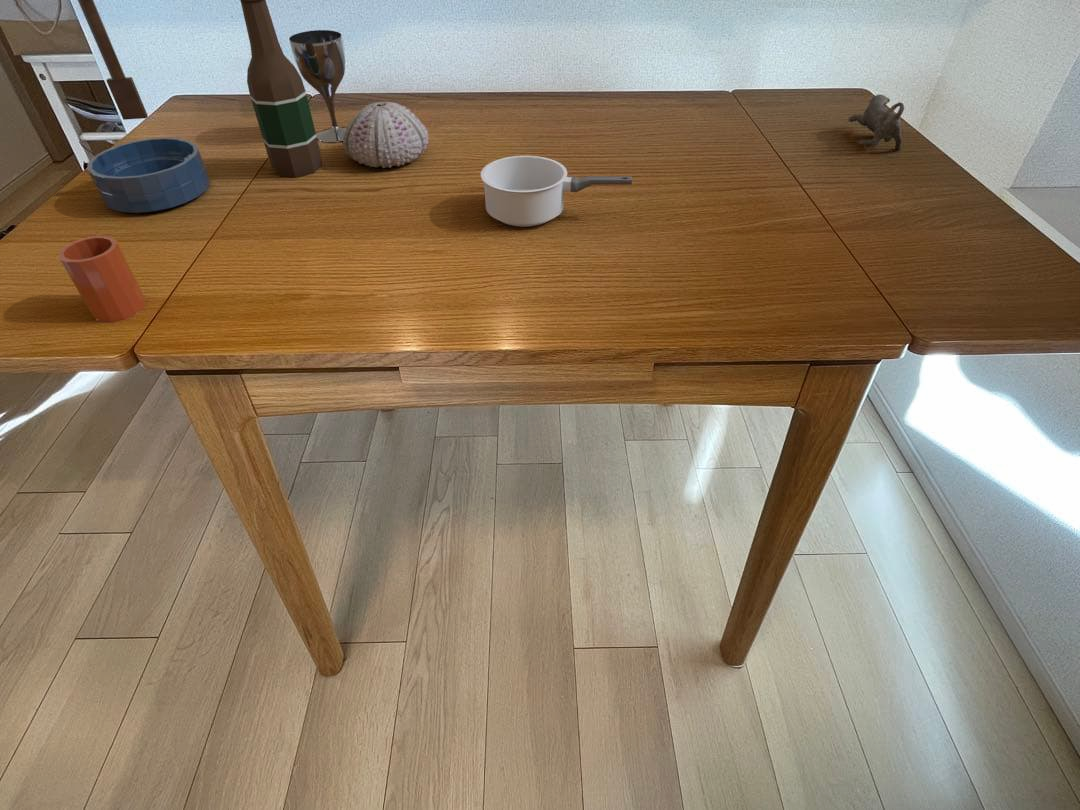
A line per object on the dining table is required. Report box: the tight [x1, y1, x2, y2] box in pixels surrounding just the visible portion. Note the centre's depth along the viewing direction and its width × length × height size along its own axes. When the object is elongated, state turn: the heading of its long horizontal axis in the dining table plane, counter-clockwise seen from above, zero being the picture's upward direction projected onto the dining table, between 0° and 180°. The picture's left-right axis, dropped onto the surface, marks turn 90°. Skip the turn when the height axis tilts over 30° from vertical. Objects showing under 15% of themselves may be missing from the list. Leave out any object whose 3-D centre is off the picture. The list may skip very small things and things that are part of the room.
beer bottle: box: [239, 0, 323, 178], centre depth 93 cm, size 8×8×24 cm
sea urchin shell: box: [341, 101, 430, 169], centre depth 102 cm, size 13×14×8 cm
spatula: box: [77, 0, 149, 121], centre depth 81 cm, size 3×2×20 cm, turn 99°
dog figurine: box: [847, 94, 905, 151], centre depth 105 cm, size 12×6×7 cm, turn 179°
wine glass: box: [288, 29, 347, 143], centre depth 106 cm, size 8×8×15 cm
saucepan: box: [480, 155, 633, 228], centre depth 88 cm, size 12×20×6 cm, turn 82°
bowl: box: [87, 137, 211, 214], centre depth 93 cm, size 14×14×6 cm
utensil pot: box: [58, 235, 147, 323], centre depth 71 cm, size 5×6×8 cm
